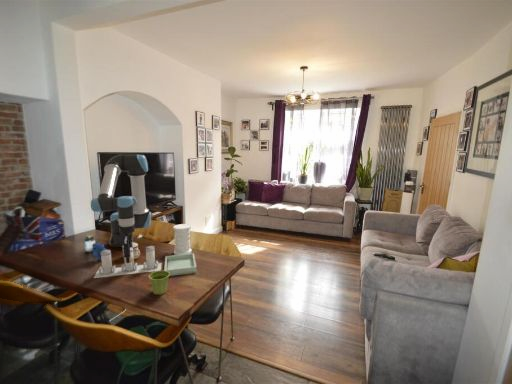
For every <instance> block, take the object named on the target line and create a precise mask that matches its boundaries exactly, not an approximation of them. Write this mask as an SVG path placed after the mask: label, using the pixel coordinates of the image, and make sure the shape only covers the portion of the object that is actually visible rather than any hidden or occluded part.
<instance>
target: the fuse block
mask: <svg viewBox="0 0 512 384" xmlns="http://www.w3.org/2000/svg"><path fill="white" fill-rule="evenodd" d="M155 251H156V249H155V246H154V245H150V246H146V247H145V260H146V261H144V262H143V264H139V265H138V262H134V270H132V271H125V263H124V264H121V267H116V264H114V265H112V252H111V249H107V250H104V251H101V259H100V261H101V266H99V268H98V269H97V271H96V273H95V275H94V277H93V279H96V278H97V279H99V278H108V277H116V276H124V275H133V274H142V273H150V272H151V273H152V272H155V271H162V264H163V263H162V262H159V261H158V260H156V257H155V256H156V253H155Z"/></svg>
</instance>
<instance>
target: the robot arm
mask: <svg viewBox="0 0 512 384" xmlns="http://www.w3.org/2000/svg"><path fill="white" fill-rule="evenodd" d="M103 171H104V174H103V177H102V181H101V185H100V189H99V192H98V195H97V197H94V198H91V200H90V208H91V211H93V212H94V213H97V212H99V213H102V212H113V213H112V214H111V215H110V220H109V222H110V229H111V230H110V231H111V235H110V237H109V238H110V239H109V243H108V244H109V246H110V247H113V248H122V246H124V256H123V255H122V258H123V257H124V258H125V261H124V264H125V263H126V268H131V267H132V266H131V256H130V247H132V248H133V246H132V242H133V243H134V239H133V233H134V232H136V230H137V229H148V228H150V227H151V221H152V220H151V219H152V212H151V211H150V209H149V208H147V199H146V187H145V176H146V175H147V172H148V171H149V163H148V160H147V157H146V156H145V155H144V154H117V155H114V156H113V157H111V158H110V159H109V160H107V162H106V163H105V165H104V168H103ZM121 173H127V176H128V177H129V179H130V186H131V187H130V189H131V195H122V196H118V197H114V196H115V191H116V187H117V182H118V179H119V176H120V175H121ZM114 211H115V212H114ZM133 252H134V250H133Z"/></svg>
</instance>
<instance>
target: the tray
mask: <svg viewBox="0 0 512 384" xmlns="http://www.w3.org/2000/svg"><path fill="white" fill-rule="evenodd" d="M195 257H196V256H195V253H194V252H193V253H192V252H191V253H190V254H181V255H175V254H174V255H173V254H172V255H171V254H170V255H165V257H164V269H163V271H168V272H169V273H170V275H169V277H172V276H180V275H188V274H197V271H198V270H197V262H196V258H195Z"/></svg>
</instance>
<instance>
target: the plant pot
mask: <svg viewBox="0 0 512 384" xmlns="http://www.w3.org/2000/svg"><path fill="white" fill-rule="evenodd" d="M169 275H170V273H169V272H168V271H164V270H160V271H152V272H151V273H150V274H148V278H149V281H150V283H151V289H152V294H154V295H163V294H165V293H166V292H167V288H168V284H169V283H168V282H169V277H170V276H169Z"/></svg>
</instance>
